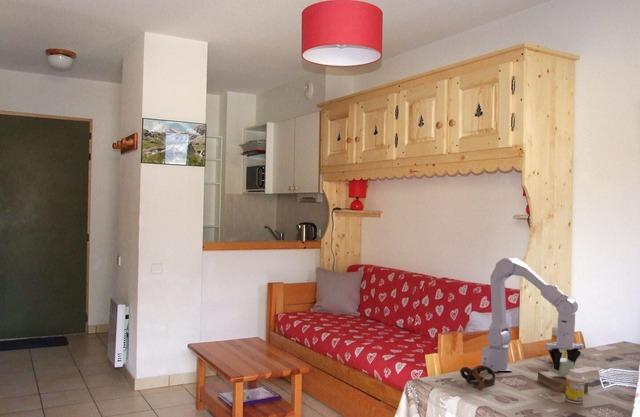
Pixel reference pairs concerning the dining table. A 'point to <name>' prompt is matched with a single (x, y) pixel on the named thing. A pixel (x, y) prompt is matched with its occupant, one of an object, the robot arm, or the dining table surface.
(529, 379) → the dining table surface
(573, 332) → the robot arm
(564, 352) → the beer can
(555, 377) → the walnut base
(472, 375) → the brown looped piece
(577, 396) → the supplement bottle
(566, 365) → the sage block
